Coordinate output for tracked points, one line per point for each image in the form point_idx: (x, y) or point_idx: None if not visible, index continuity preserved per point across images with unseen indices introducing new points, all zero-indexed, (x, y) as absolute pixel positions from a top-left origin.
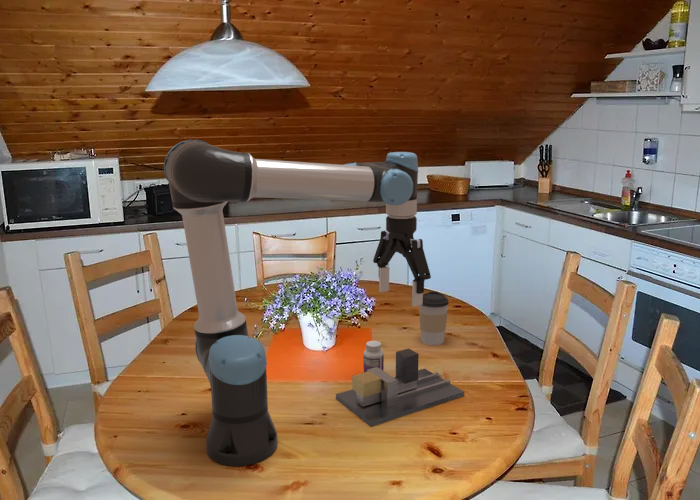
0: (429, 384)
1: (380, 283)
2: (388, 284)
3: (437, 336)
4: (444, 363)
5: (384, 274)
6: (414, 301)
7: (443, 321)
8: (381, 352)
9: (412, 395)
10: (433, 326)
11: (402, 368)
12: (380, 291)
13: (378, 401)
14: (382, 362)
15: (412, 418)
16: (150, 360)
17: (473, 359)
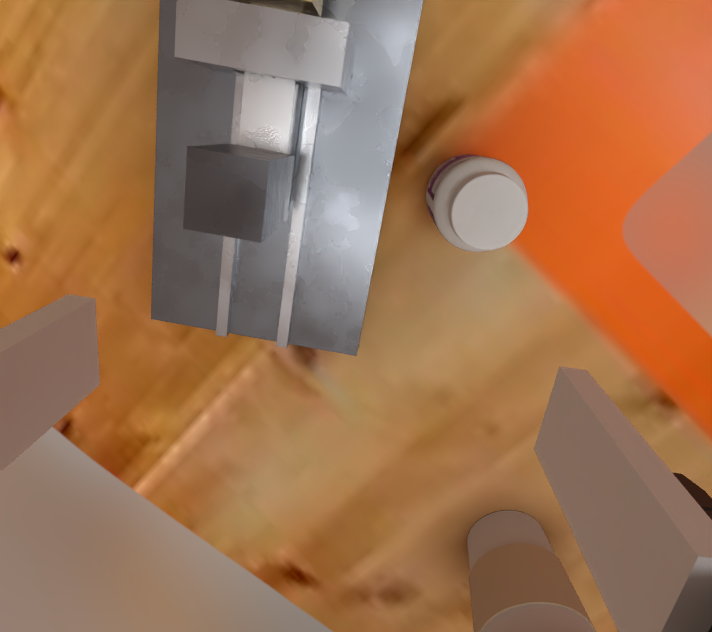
0: (256, 275)
1: (600, 413)
2: (555, 482)
3: (476, 550)
4: (359, 442)
5: (621, 525)
6: (38, 315)
7: (473, 613)
8: (444, 224)
9: None
10: (491, 571)
11: (231, 148)
12: (567, 370)
13: None
14: (432, 216)
15: (136, 63)
16: None
17: (318, 518)
